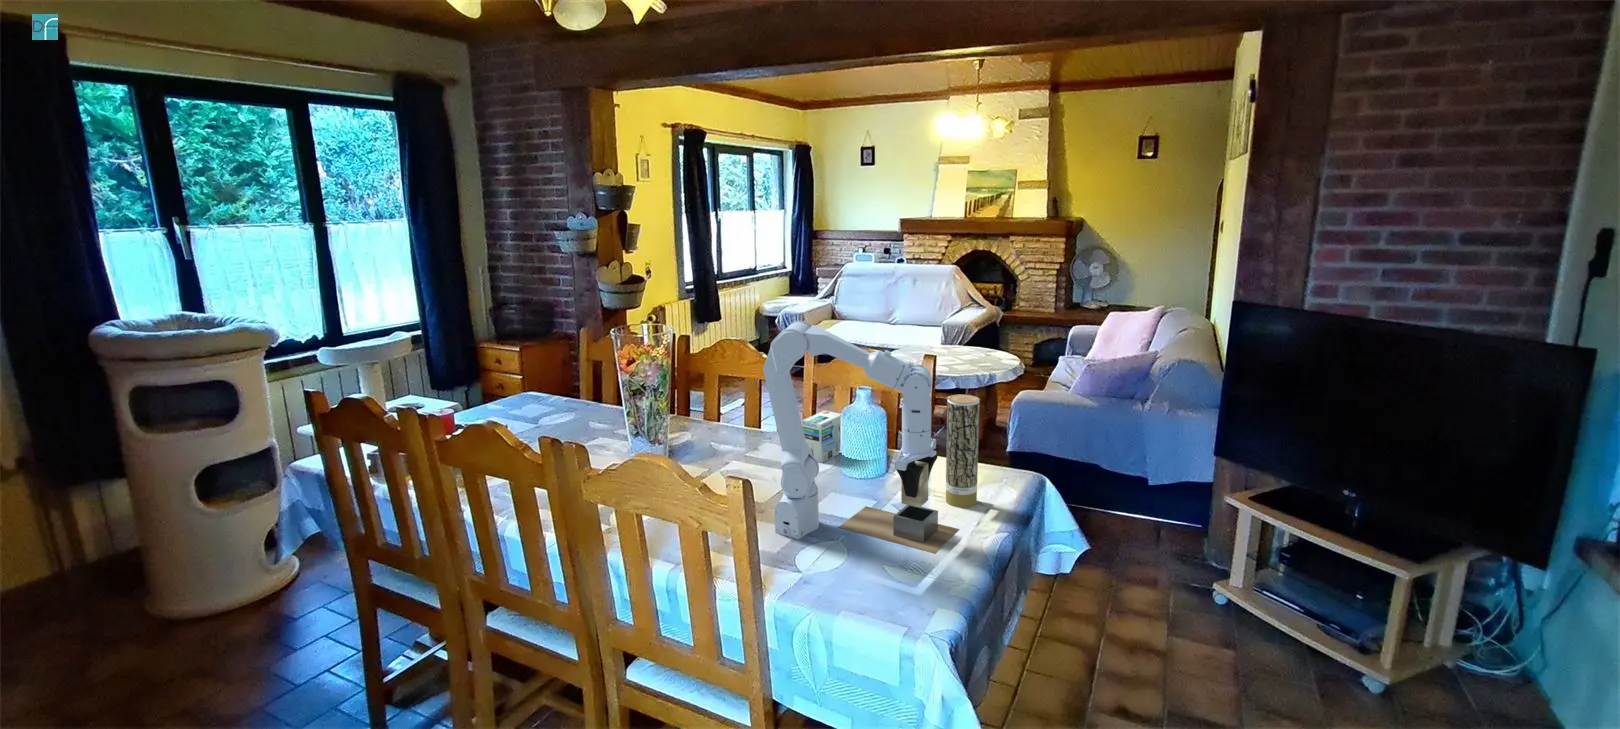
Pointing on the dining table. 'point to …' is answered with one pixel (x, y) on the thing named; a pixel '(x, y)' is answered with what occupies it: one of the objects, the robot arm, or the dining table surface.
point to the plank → (882, 528)
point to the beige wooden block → (922, 489)
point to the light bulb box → (823, 435)
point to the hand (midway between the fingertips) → (916, 492)
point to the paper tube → (962, 450)
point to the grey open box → (915, 523)
